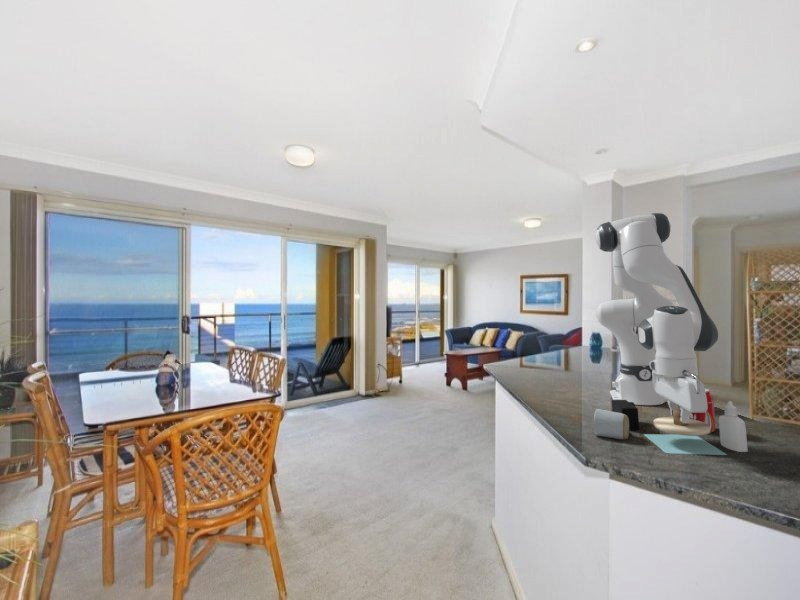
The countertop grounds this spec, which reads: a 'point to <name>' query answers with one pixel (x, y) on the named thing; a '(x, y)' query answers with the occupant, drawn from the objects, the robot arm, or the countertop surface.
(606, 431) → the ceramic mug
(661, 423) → the birch lid
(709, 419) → the soda can
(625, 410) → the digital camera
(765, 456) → the countertop surface
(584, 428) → the countertop surface
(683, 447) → the teal mat
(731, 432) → the eye dropper bottle
